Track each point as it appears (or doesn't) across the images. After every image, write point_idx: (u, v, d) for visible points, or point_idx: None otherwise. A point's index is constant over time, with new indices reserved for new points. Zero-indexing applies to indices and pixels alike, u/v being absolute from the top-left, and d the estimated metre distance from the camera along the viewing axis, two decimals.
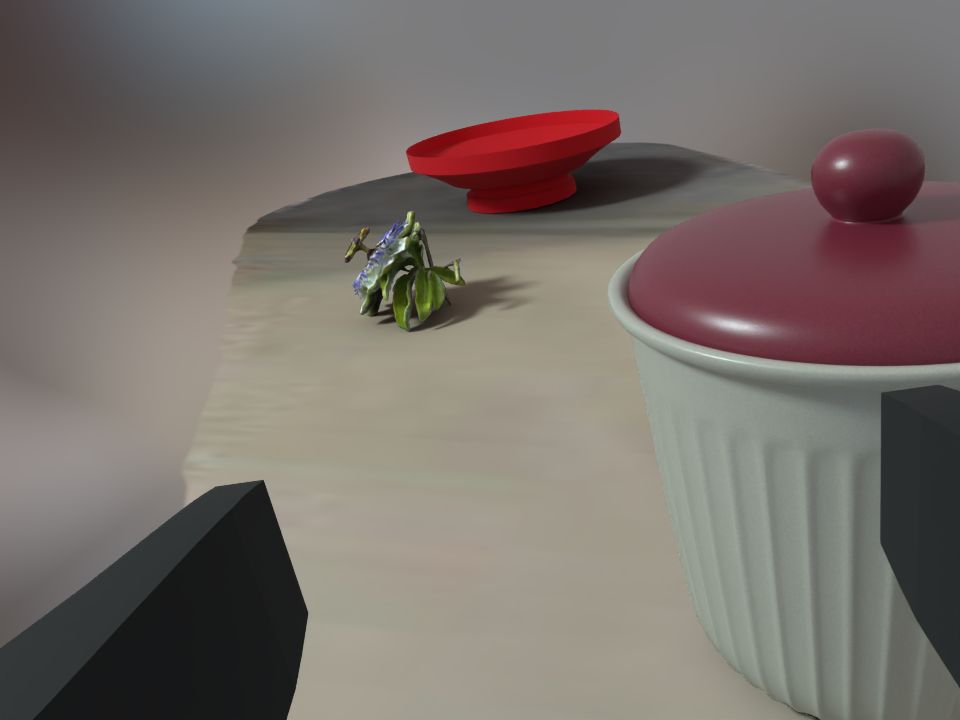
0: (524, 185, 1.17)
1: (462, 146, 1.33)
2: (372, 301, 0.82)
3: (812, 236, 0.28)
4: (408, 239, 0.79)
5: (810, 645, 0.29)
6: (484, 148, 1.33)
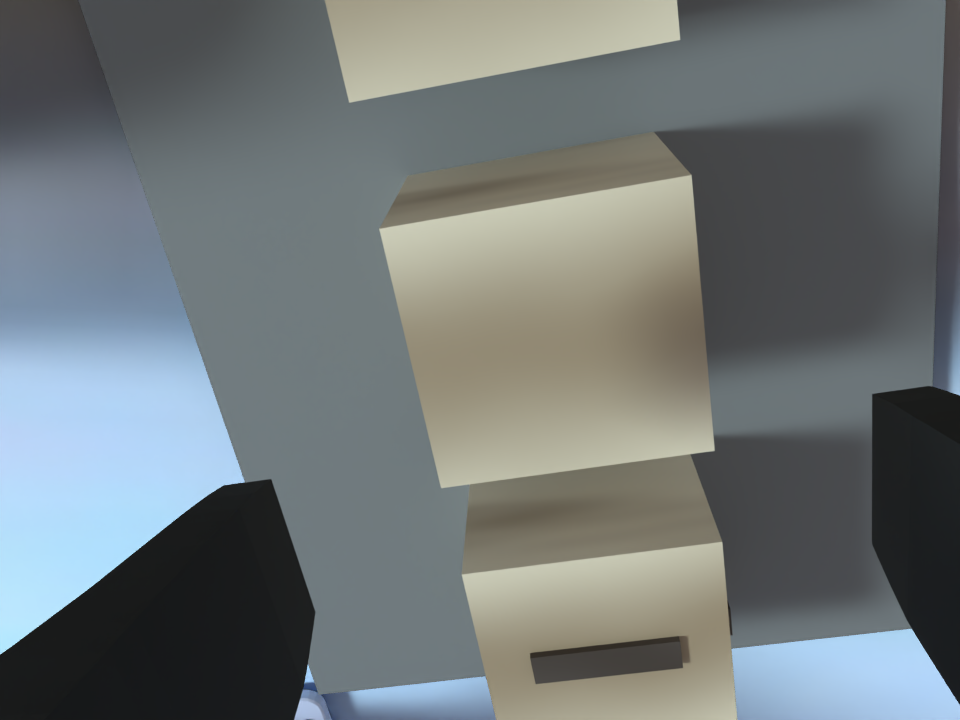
0: None
1: None
2: None
3: None
4: None
5: None
6: None
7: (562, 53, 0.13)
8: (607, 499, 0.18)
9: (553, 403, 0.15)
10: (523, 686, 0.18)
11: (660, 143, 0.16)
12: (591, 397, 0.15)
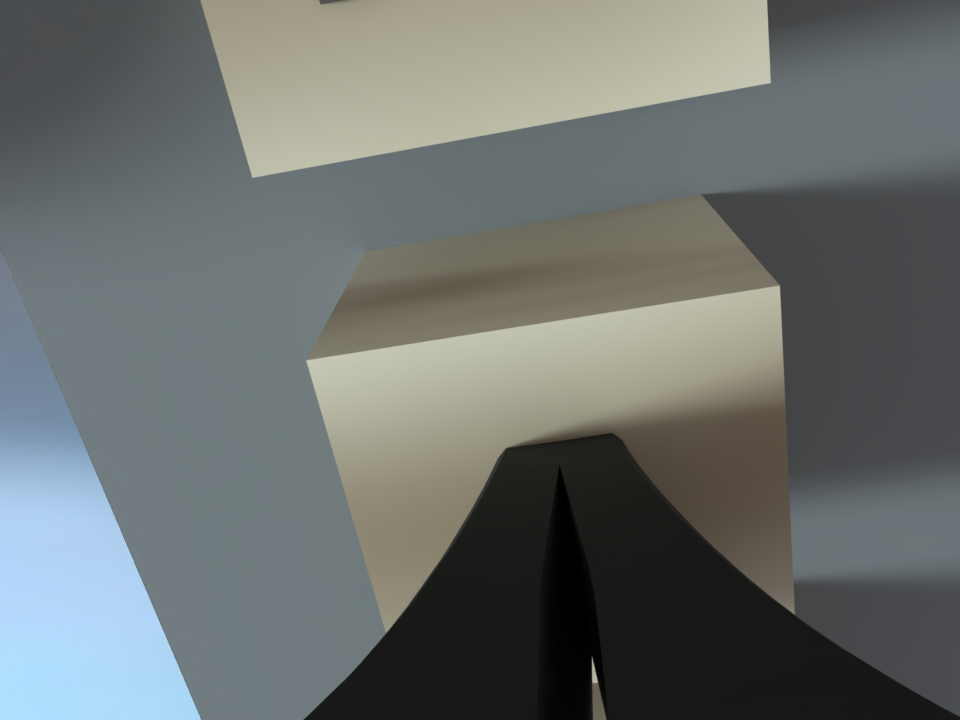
0: None
1: None
2: None
3: None
4: None
5: None
6: None
7: (583, 104, 0.08)
8: None
9: None
10: None
11: (715, 216, 0.11)
12: None
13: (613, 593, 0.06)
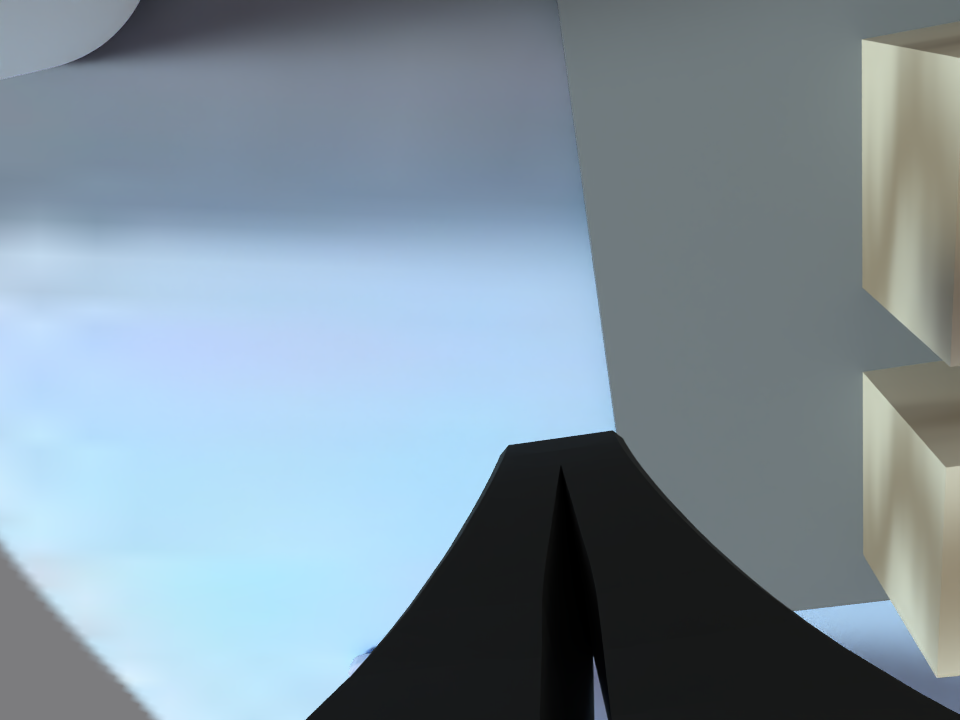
0: None
1: None
2: None
3: None
4: None
5: None
6: None
7: None
8: None
9: None
10: None
11: None
12: None
13: (615, 592, 0.06)
